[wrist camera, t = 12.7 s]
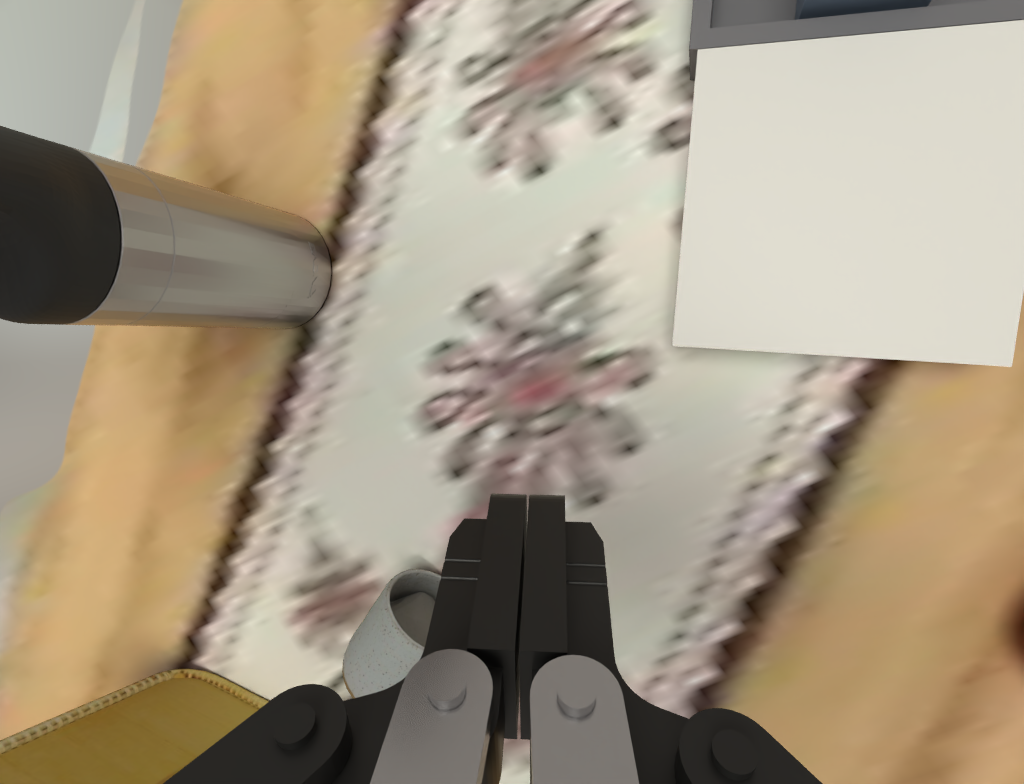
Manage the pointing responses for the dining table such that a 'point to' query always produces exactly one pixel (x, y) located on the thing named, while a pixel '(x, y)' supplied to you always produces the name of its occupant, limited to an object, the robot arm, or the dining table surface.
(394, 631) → the ceramic mug
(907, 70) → the white slab
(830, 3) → the slate block
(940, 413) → the dining table surface
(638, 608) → the dining table surface
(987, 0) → the box
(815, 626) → the dining table surface
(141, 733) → the picnic basket
